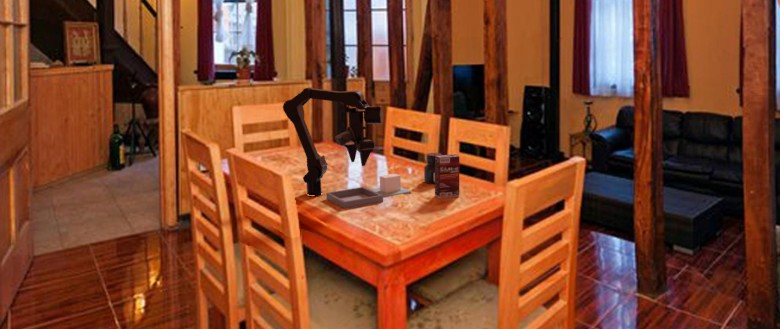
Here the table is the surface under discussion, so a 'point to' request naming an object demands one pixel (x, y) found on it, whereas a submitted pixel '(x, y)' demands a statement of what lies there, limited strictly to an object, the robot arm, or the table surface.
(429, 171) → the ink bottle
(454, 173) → the supplement box
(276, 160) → the table surface
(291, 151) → the table surface
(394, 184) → the block
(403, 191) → the mat
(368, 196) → the grey square tray
